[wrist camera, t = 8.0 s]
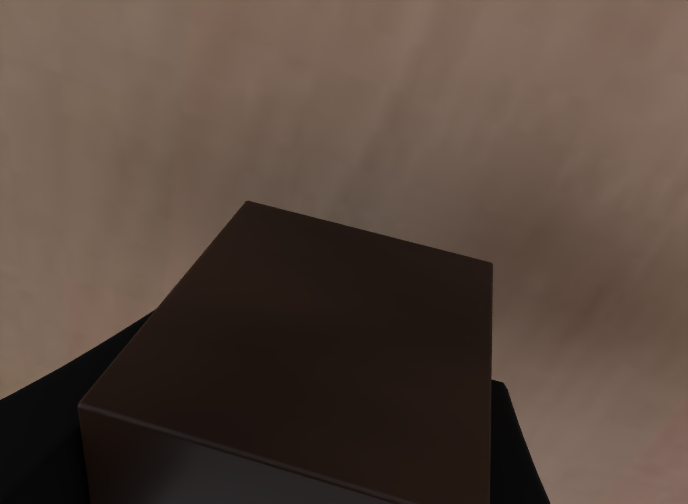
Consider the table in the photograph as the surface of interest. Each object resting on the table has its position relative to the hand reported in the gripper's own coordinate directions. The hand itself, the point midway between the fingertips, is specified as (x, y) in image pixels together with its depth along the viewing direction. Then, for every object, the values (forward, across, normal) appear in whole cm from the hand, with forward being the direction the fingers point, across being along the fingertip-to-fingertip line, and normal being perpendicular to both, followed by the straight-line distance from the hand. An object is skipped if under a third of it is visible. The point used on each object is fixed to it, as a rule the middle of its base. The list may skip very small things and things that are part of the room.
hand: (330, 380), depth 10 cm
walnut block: (+1, 0, 0) cm, 1 cm away
